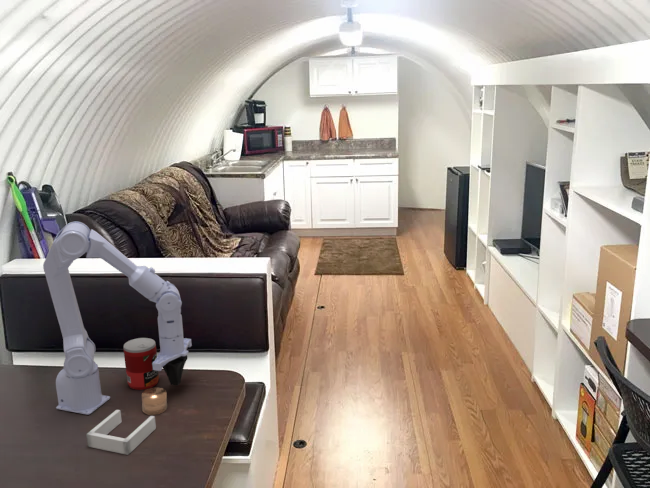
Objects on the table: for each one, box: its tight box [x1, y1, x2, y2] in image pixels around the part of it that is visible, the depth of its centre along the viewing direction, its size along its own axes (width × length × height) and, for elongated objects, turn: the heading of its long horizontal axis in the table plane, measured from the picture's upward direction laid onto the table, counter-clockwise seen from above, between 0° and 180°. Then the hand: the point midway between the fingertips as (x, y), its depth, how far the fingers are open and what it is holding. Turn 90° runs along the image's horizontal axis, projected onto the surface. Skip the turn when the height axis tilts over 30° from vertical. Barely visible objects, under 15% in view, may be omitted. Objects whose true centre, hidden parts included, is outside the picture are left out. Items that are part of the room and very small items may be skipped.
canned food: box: [123, 337, 160, 391], centre depth 145 cm, size 8×8×11 cm
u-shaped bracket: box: [85, 409, 157, 456], centre depth 123 cm, size 10×10×3 cm
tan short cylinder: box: [141, 386, 168, 416], centre depth 134 cm, size 6×6×4 cm
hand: (175, 383), depth 143 cm, fingers closed
